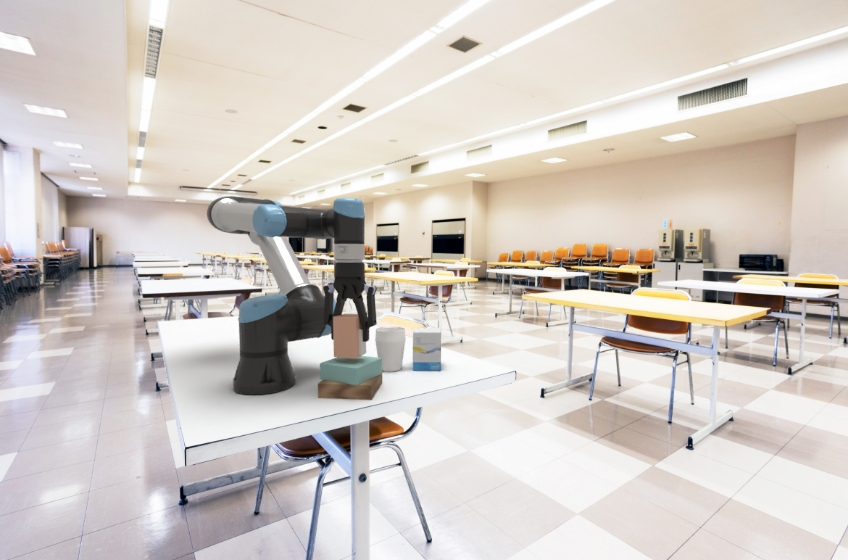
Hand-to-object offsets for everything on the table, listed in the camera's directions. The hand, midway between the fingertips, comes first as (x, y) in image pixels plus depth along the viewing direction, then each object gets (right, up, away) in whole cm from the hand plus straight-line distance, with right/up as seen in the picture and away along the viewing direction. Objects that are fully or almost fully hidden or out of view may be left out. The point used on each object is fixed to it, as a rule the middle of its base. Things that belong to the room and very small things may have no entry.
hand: (350, 353), depth 103 cm
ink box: (+20, -8, +22) cm, 31 cm away
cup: (+9, -8, +20) cm, 23 cm away
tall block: (0, 0, 0) cm, 1 cm away
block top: (0, -6, 0) cm, 6 cm away
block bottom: (0, -10, 0) cm, 10 cm away
